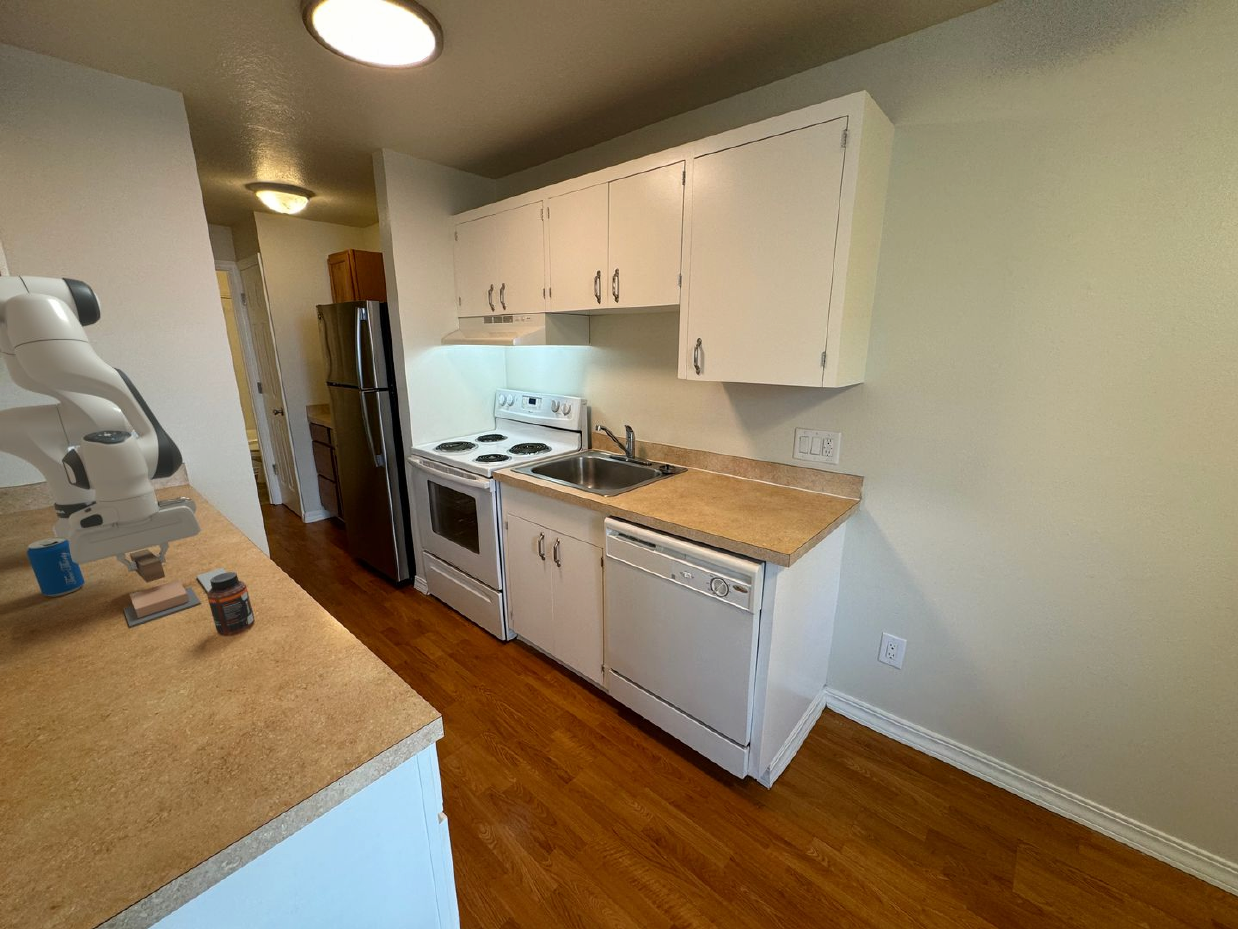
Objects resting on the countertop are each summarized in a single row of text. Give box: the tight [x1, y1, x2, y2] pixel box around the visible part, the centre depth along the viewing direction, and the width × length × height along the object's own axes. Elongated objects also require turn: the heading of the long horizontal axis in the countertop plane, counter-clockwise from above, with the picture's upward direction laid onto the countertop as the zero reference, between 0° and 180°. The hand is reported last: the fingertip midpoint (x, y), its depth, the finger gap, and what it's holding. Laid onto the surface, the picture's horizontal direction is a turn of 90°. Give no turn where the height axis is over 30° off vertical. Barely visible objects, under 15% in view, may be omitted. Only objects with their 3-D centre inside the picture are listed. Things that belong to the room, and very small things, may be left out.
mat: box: [122, 586, 202, 628], centre depth 103 cm, size 10×11×1 cm
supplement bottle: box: [207, 571, 255, 637], centre depth 94 cm, size 6×6×11 cm
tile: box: [129, 579, 189, 618], centre depth 103 cm, size 2×8×9 cm
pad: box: [196, 567, 228, 593], centre depth 113 cm, size 12×5×1 cm, turn 50°
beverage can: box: [26, 536, 86, 598], centre depth 108 cm, size 6×6×12 cm
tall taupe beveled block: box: [129, 548, 166, 583], centre depth 106 cm, size 10×3×4 cm, turn 55°
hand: (147, 566), depth 107 cm, fingers closed on tall taupe beveled block, 3 cm apart
